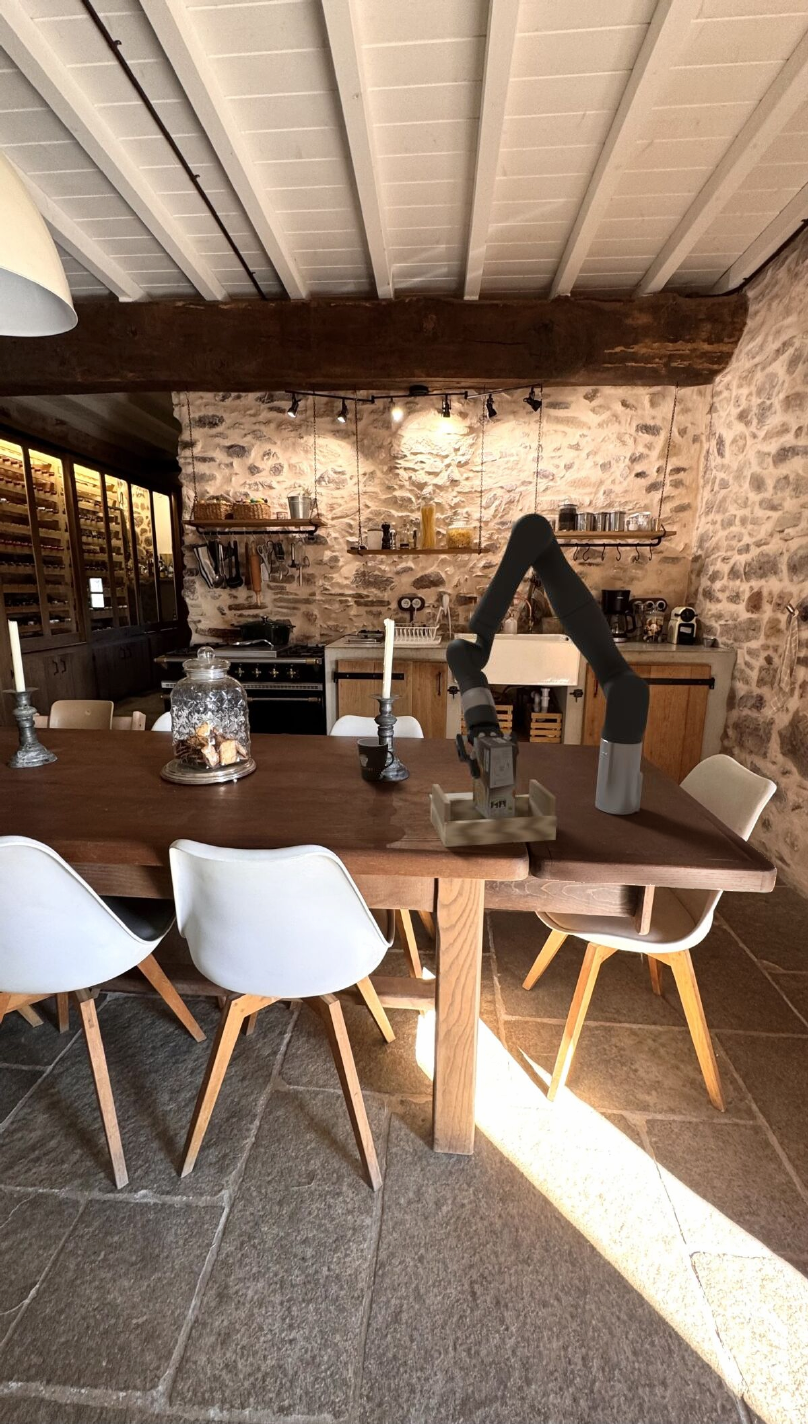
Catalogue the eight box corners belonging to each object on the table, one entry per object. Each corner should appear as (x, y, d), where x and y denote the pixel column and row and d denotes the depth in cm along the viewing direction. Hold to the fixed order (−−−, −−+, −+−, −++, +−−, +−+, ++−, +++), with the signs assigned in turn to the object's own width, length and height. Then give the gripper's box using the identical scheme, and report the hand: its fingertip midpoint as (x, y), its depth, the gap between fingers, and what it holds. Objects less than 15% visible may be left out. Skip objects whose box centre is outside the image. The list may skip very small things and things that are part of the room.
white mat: (497, 792, 151) (497, 791, 151) (513, 810, 139) (513, 808, 139) (429, 796, 148) (429, 794, 148) (440, 814, 136) (440, 812, 136)
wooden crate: (530, 814, 137) (532, 777, 135) (555, 839, 124) (558, 799, 122) (430, 820, 133) (431, 782, 131) (445, 846, 120) (446, 805, 118)
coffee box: (515, 817, 124) (519, 745, 121) (488, 821, 122) (490, 747, 119) (496, 802, 133) (499, 734, 129) (470, 805, 131) (472, 736, 128)
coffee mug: (353, 773, 165) (353, 739, 163) (382, 770, 168) (383, 736, 166) (366, 786, 155) (366, 750, 152) (396, 783, 158) (397, 747, 155)
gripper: (452, 704, 130) (465, 770, 122) (513, 701, 133) (530, 767, 124) (446, 721, 137) (458, 786, 128) (505, 719, 139) (520, 782, 130)
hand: (493, 776), depth 126 cm, fingers closed on coffee box, 7 cm apart
